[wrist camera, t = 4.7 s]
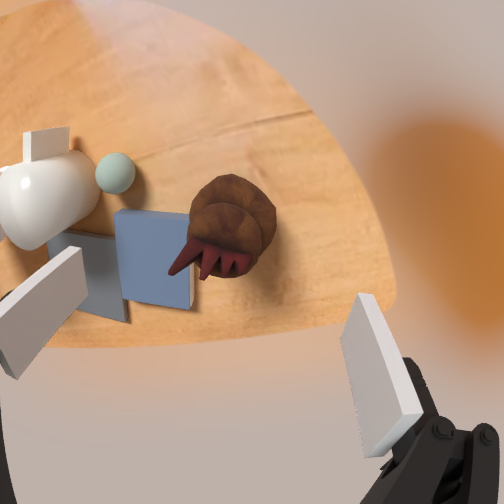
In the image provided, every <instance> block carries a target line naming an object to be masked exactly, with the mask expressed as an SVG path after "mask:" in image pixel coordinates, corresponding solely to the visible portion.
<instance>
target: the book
mask: <svg viewBox="0 0 504 504" xmlns="http://www.w3.org/2000/svg"><path fill="white" fill-rule="evenodd" d="M189 224H190V219H189V214H182V213H170V212H159V211H147V210H134V209H121V210H119V211H118V212H116V213H115V214H114V226H115V238H116V249H117V259H118V268H119V276H120V283H121V290H122V297H123V299H126V300H132V301H137V302H143V303H149V304H155V305H161V306H167V307H174V308H180V309H187V310H190V307H191V306H192V303H193V301H194V263H192V264H191V265H189V266H188V267H186V268H185V269H183V270H182V271H180V272H179V273H177V274H176V275H174V276H170V275H168V270H169V269H170V267H171V266H172V264H173V263H174V261H175V260H176V258H177V256H178V255H179V253H180V252H181V250H182V249H183V247H184V246H185V245H186V243H187V239H186V238H187V231H188V225H189Z"/></svg>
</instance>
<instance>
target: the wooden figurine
mask: <svg viewBox="0 0 504 504" xmlns="http://www.w3.org/2000/svg"><path fill="white" fill-rule="evenodd" d="M189 219H190V224H189V225H188V231H187V238H186V239H187V243H186V245H185V246H184V247H183V249H182V250H181V252H180V253H179V255H178V256H177V258H176V260H175V261H174V263H173V264H172V266H171V267H170V269H169V270H168V275H170V276H174V275H176V274H177V273H179V272H180V271H182V270H183V269H185V268H186V267H188V266H189V265H191V264H192V263H194V262H195V264H196V265H197V266H198V267H199V268H200V269H201V271H200V278H199V279H200V280H203V281H204V280H205V279H206V278H207V277H208V275H209V274H210V275H212V276H216V277H220V278H236V277H239V276H241V275H244V274H247V273H248V272H249V271H250V270H251V268H252V267H253V266H254V265H255V264H256V263H257V261H258V258H259V256H260V255H261V254H262V253H263V251H264V250H265V249H266V248H267V247H268V245H269V244H270V243H271V241H272V238H273V236H274V233H275V231H276V226H277V224H276V207H275V206H274V205H273V204H272V203H271V201H270V200H269V199H268V197H267V196H266V195H265V194H264V193H263V192H262V191H261V190H260V189H259V188H258V187H257V186H255V185H254V184H252V183H251V182H249V181H248V180H246V179H244V178H242V177H239V176H237V175H234V174H228V175H223V176H218V177H216V178H215V179H214V180H212V181H211V182H210V183H209V184H207V185H206V186H205V187H203V188H202V189H201V190H200V192H199V193H198V194H197V196H196V197H195V198H194V200H193V201H192V205H191V209H190V214H189Z"/></svg>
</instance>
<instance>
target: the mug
mask: <svg viewBox="0 0 504 504" xmlns="http://www.w3.org/2000/svg"><path fill="white" fill-rule="evenodd" d="M69 130H70V126H65V127H55V128H48V129H41V130H35V131H29V132H23V162H22V163H19V164H15V165H12V166H10V167H8V168H7V169H6V170H5V171H4V172H3V173H2V175H1V176H0V223H1V226H2V228H3V230H4V232H5V233H6V235H7V236H8V238H9V239H10V240H11V241H12V242H13V243H14V244H15V245H16V246H18V247H19V248H21V249H24V250H35V249H37V248H38V247H40V246H41V245H43V244H44V243H46V242H47V241H49V240H50V239H52V238H53V237H55V236H56V235H58V234H59V233H61V232H62V231H64V230H65V229H67V228H68V227H70V226H72V225H73V224H75V223H76V222H78V221H80V220H81V219H83V218H84V217H86V216H88V215H89V214H90V213H91V212H92V211H93V210H94V209H95V207H96V206H97V204H98V201H99V198H100V192H101V188H100V187H99V186H98V184H97V182H96V177H95V172H96V166H95V164H94V162H93V161H92V160H91V158H90V157H89V156H88V155H86V154H85V153H83V152H81V151H79V150H69Z"/></svg>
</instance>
